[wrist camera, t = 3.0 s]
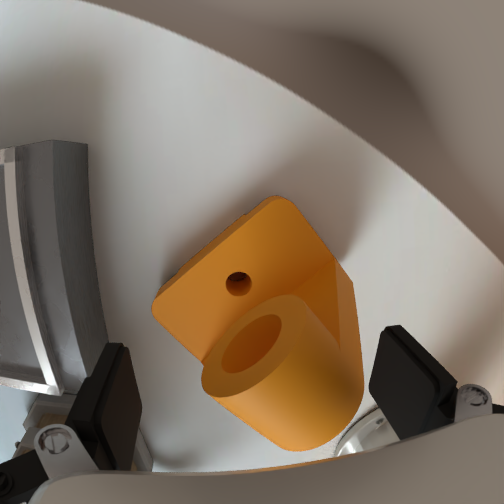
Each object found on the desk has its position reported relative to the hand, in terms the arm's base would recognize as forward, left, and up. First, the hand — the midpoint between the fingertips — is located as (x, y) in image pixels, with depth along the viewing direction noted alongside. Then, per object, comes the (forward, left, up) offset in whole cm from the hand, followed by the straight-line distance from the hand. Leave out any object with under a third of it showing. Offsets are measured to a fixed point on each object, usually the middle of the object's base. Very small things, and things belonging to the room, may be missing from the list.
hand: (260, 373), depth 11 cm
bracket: (-1, +1, -11) cm, 11 cm away
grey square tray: (+17, -1, -11) cm, 21 cm away
